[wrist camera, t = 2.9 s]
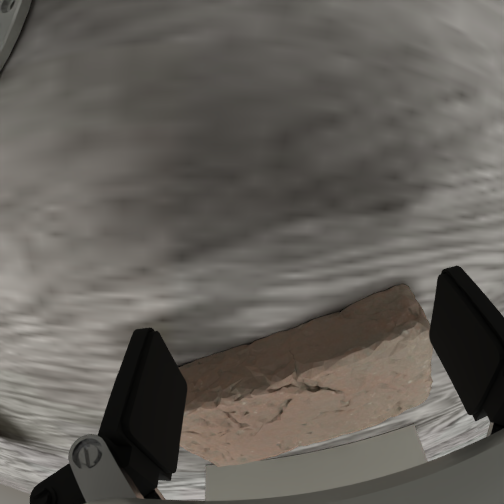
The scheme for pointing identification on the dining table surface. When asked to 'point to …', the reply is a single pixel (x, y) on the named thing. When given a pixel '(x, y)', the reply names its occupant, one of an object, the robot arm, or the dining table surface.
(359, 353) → the brick
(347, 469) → the grey bookend
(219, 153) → the dining table surface
